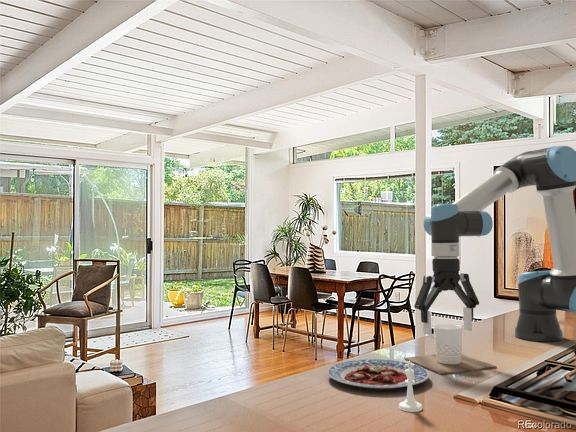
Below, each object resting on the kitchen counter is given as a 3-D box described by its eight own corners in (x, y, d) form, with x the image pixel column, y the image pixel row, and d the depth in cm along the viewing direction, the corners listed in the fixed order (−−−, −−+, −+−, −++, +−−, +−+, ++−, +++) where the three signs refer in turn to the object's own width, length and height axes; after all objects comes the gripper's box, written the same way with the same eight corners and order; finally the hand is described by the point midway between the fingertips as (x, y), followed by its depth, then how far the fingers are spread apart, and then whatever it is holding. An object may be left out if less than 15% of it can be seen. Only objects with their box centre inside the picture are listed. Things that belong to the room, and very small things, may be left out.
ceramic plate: (413, 402, 115) (412, 388, 115) (310, 387, 128) (310, 375, 128) (440, 373, 138) (439, 362, 138) (350, 363, 150) (350, 352, 150)
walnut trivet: (455, 353, 158) (455, 352, 158) (496, 368, 141) (496, 366, 141) (404, 359, 152) (404, 357, 152) (440, 375, 135) (440, 373, 135)
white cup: (465, 365, 142) (464, 329, 142) (435, 364, 144) (434, 328, 144) (461, 358, 150) (460, 324, 150) (433, 358, 151) (432, 323, 152)
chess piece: (395, 404, 113) (394, 358, 113) (417, 403, 113) (416, 358, 114) (402, 412, 108) (401, 364, 108) (425, 411, 108) (424, 363, 109)
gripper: (415, 260, 140) (417, 338, 139) (490, 256, 148) (493, 330, 147) (400, 258, 147) (402, 333, 147) (473, 255, 155) (475, 326, 155)
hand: (448, 332), depth 147 cm, fingers open, 13 cm apart
